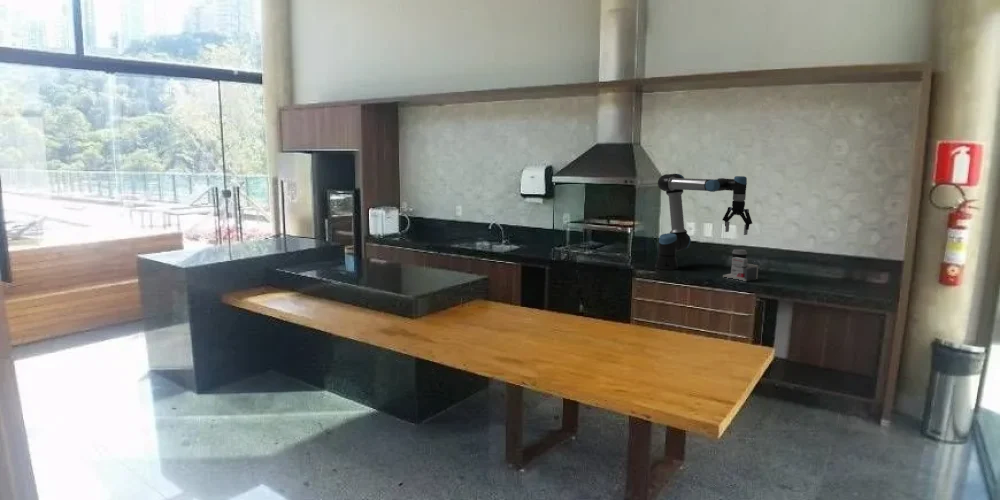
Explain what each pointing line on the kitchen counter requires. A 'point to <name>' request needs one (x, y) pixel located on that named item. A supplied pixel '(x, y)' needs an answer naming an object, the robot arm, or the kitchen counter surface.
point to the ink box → (739, 266)
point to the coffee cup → (739, 253)
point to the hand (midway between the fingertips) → (736, 233)
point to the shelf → (747, 273)
